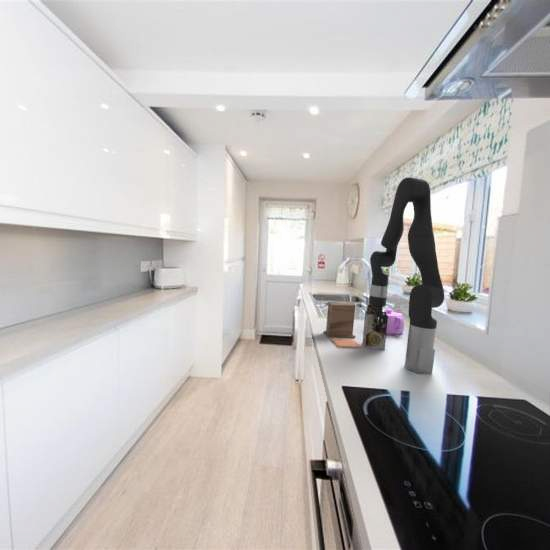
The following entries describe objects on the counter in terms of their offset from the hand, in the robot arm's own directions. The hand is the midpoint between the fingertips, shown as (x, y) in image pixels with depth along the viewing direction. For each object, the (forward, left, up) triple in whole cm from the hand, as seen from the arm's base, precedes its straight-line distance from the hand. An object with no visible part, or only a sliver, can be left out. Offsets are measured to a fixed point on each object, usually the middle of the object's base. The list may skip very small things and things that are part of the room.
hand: (374, 329), depth 139 cm
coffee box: (0, 0, -8) cm, 8 cm away
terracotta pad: (+3, +12, -8) cm, 15 cm away
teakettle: (+27, -20, -9) cm, 35 cm away
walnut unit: (+16, +11, -8) cm, 21 cm away
